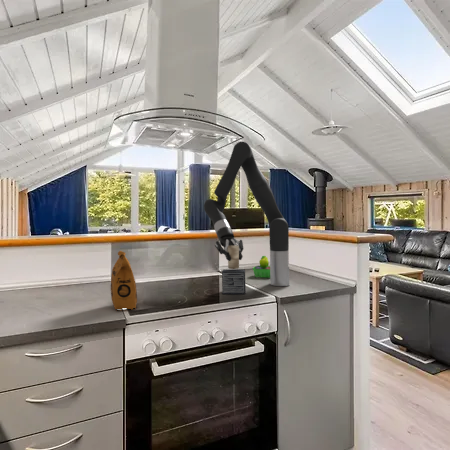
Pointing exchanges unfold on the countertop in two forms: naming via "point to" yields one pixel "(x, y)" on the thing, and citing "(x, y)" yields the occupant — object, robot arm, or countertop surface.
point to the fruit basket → (262, 268)
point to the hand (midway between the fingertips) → (235, 259)
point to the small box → (233, 281)
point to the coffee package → (123, 284)
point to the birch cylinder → (233, 257)
